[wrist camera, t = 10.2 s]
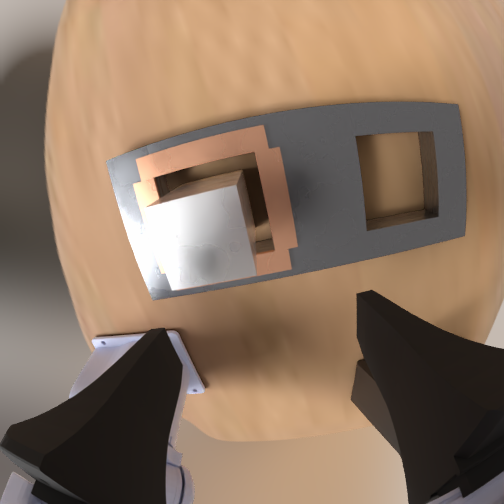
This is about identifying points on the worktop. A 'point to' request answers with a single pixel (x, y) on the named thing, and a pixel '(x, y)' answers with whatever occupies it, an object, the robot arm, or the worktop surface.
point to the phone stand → (373, 403)
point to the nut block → (205, 231)
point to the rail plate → (306, 186)
